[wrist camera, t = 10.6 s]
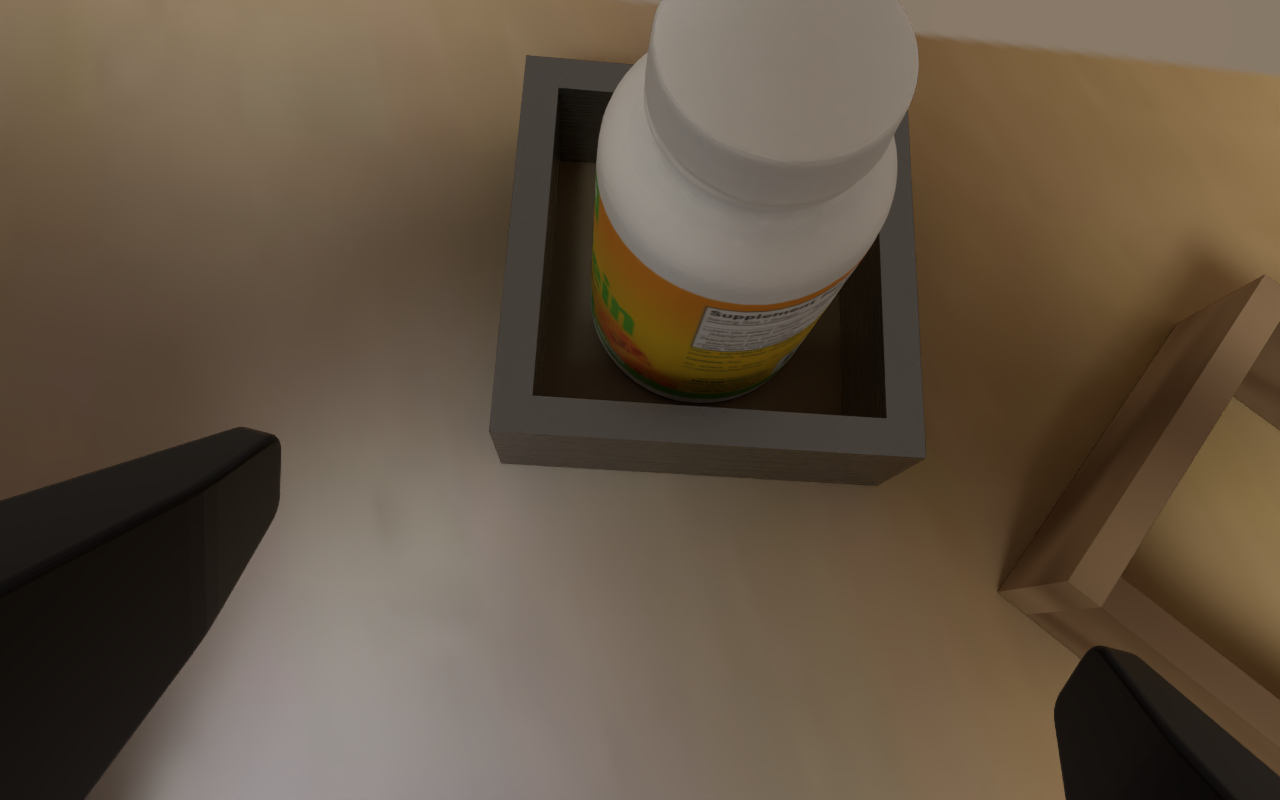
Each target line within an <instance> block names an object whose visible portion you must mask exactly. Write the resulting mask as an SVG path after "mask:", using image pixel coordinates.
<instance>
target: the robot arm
mask: <svg viewBox="0 0 1280 800" xmlns="http://www.w3.org/2000/svg"><path fill="white" fill-rule="evenodd" d="M280 473H281V445H280V441H279V439H278V438H277V437H276V436H275V435H273V434H269V433H266V432H262V431H258V430H254V429H250V428H246V427H237V428H234V429H230V430H227V431H224V432H221V433H217V434H214V435H211V436H208V437H205V438H201V439H198V440H195V441H192V442H189V443H185V444H182V445H179V446H176V447H172V448H169V449H166V450H163V451H160V452H156V453H153V454H150V455H147V456H144V457H140V458H137V459H134V460H131V461H127V462H124V463H121V464H118V465H115V466H111V467H108V468H105V469H102V470H98V471H95V472H92V473H89V474H86V475H82V476H79V477H76V478H73V479H69V480H66V481H63V482H60V483H57V484H53V485H50V486H47V487H44V488H40V489H37V490H34V491H31V492H28V493H24V494H21V495H18V496H15V497H11V498H8V499H5V500H2V501H0V800H85V798H86V797H87V796H88V794H89V793H90V792H91V790H92V789H93V788H94V786H95V785H96V784H97V782H98V781H99V780H100V778H101V777H102V775H103V774H104V773H105V771H106V770H107V769H108V767H109V766H110V765H111V763H112V762H113V761H114V759H115V758H116V757H117V755H118V754H119V752H120V751H121V750H122V748H123V747H124V746H125V744H126V743H127V742H128V740H129V739H130V738H131V736H132V735H133V734H134V732H135V731H136V730H137V728H138V727H139V725H140V724H141V723H142V721H143V720H144V719H145V717H146V716H147V715H148V713H149V712H150V711H151V709H152V708H153V707H154V705H155V704H156V703H157V701H158V700H159V698H160V697H161V696H162V694H163V693H164V692H165V690H166V689H167V688H168V686H169V685H170V684H171V682H172V681H173V680H174V678H175V677H176V676H177V674H178V673H179V671H180V670H181V669H182V667H183V666H184V665H185V663H186V662H187V661H188V659H189V658H190V657H191V655H192V654H193V653H194V651H195V650H196V648H197V647H198V645H199V644H200V643H201V641H202V640H203V638H204V637H205V635H206V634H207V632H208V631H209V629H210V628H211V626H212V624H213V623H214V621H215V619H216V618H217V616H218V614H219V613H220V611H221V609H222V608H223V606H224V604H225V602H226V601H227V599H228V597H229V595H230V594H231V592H232V590H233V588H234V587H235V585H236V583H237V582H238V580H239V578H240V576H241V575H242V573H243V571H244V569H245V568H246V566H247V564H248V562H249V561H250V559H251V557H252V555H253V554H254V552H255V550H256V549H257V547H258V545H259V543H260V542H261V540H262V538H263V536H264V535H265V533H266V531H267V529H268V528H269V526H270V524H271V523H272V521H273V519H274V517H275V514H276V512H277V509H278V505H279V500H280ZM1054 722H1055V729H1056V736H1057V743H1058V750H1059V756H1060V763H1061V770H1062V777H1063V784H1064V791H1065V798H1066V800H1280V776H1279V775H1277V774H1276V773H1275V772H1274V771H1273V770H1272V769H1270V768H1269V767H1268V766H1267V765H1266V764H1264V763H1263V762H1262V761H1261V760H1260V759H1259V758H1257V757H1256V756H1255V755H1254V754H1253V753H1252V752H1250V751H1249V750H1248V749H1247V748H1246V747H1244V746H1243V745H1242V744H1241V743H1240V742H1239V741H1237V740H1236V739H1235V738H1234V737H1233V736H1232V735H1230V734H1229V733H1228V732H1227V731H1226V730H1224V729H1223V728H1222V727H1221V726H1220V725H1219V724H1217V723H1216V722H1215V721H1214V720H1213V719H1211V718H1210V717H1209V716H1208V715H1207V714H1206V713H1204V712H1203V711H1202V710H1201V709H1200V708H1199V707H1197V706H1196V705H1195V704H1194V703H1193V702H1191V701H1190V700H1189V699H1188V698H1187V697H1186V696H1184V695H1183V694H1182V693H1181V692H1180V691H1179V690H1177V689H1176V688H1175V687H1174V686H1173V685H1171V684H1170V683H1169V682H1168V681H1167V680H1166V679H1164V678H1163V677H1162V676H1161V675H1160V674H1158V673H1157V672H1156V671H1155V670H1154V669H1153V668H1151V667H1150V666H1149V665H1148V664H1147V663H1146V662H1144V661H1143V660H1142V659H1141V658H1140V657H1138V656H1137V655H1135V654H1133V653H1130V652H1126V651H1122V650H1118V649H1114V648H1110V647H1106V646H1102V645H1098V646H1094V647H1092V648H1090V649H1089V650H1088V651H1087V652H1086V653H1085V655H1084V656H1083V658H1082V659H1081V661H1080V662H1079V664H1078V665H1077V667H1076V669H1075V670H1074V672H1073V673H1072V675H1071V676H1070V678H1069V679H1068V681H1067V683H1066V684H1065V686H1064V687H1063V689H1062V690H1061V692H1060V693H1059V695H1058V698H1057V700H1056V703H1055V708H1054Z"/></svg>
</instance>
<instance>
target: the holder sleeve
mask: <svg viewBox="0 0 1280 800" xmlns="http://www.w3.org/2000/svg"><path fill="white" fill-rule="evenodd" d="M1233 396H1234V397H1235V398H1237V399H1238V400H1239V401H1241V402H1242V403H1244V404H1245V405H1246V406H1248V407H1249V408H1250V409H1252V410H1253V411H1254V412H1256V413H1257V414H1259V415H1260V416H1261V417H1263V418H1264V419H1265V420H1267V421H1268V422H1269V423H1271V424H1272V425H1274V426H1275V427H1276V428H1278V429H1279V430H1280V284H1278V283H1277V282H1275V281H1274V280H1272V279H1271V278H1270V277H1268V276H1267V275H1263V276H1262V277H1260V278H1258V279H1256V280H1254V281H1253V282H1251V283H1249V284H1247V285H1245V286H1244V287H1242V288H1240V289H1238V290H1236V291H1235V292H1233V293H1231V294H1229V295H1227V296H1226V297H1224V298H1222V299H1220V300H1218V301H1217V302H1215V303H1213V304H1211V305H1209V306H1207V307H1206V308H1204V309H1202V310H1200V311H1198V312H1197V313H1195V314H1193V315H1191V316H1189V317H1188V318H1186V319H1184V320H1182V321H1180V322H1179V323H1177V325H1176V326H1175V328H1174V329H1173V331H1172V332H1171V334H1170V335H1169V337H1168V338H1167V340H1166V341H1165V343H1164V344H1163V346H1162V347H1161V349H1160V350H1159V352H1158V353H1157V354H1156V356H1155V357H1154V359H1153V360H1152V362H1151V363H1150V365H1149V366H1148V368H1147V369H1146V371H1145V372H1144V374H1143V375H1142V377H1141V378H1140V380H1139V381H1138V383H1137V384H1136V386H1135V387H1134V389H1133V390H1132V392H1131V393H1130V395H1129V396H1128V398H1127V399H1126V401H1125V402H1124V404H1123V405H1122V407H1121V408H1120V410H1119V411H1118V413H1117V414H1116V416H1115V417H1114V419H1113V420H1112V422H1111V423H1110V425H1109V426H1108V428H1107V429H1106V431H1105V432H1104V434H1103V435H1102V437H1101V438H1100V440H1099V441H1098V443H1097V444H1096V446H1095V447H1094V449H1093V450H1092V452H1091V453H1090V455H1089V456H1088V458H1087V459H1086V461H1085V462H1084V464H1083V465H1082V467H1081V468H1080V470H1079V471H1078V473H1077V474H1076V476H1075V477H1074V479H1073V480H1072V481H1071V483H1070V484H1069V486H1068V487H1067V489H1066V490H1065V492H1064V493H1063V495H1062V496H1061V498H1060V499H1059V501H1058V502H1057V504H1056V505H1055V507H1054V508H1053V510H1052V511H1051V513H1050V514H1049V516H1048V517H1047V519H1046V520H1045V522H1044V523H1043V525H1042V526H1041V528H1040V529H1039V531H1038V532H1037V534H1036V535H1035V537H1034V538H1033V540H1032V541H1031V543H1030V544H1029V546H1028V547H1027V549H1026V550H1025V552H1024V553H1023V555H1022V556H1021V558H1020V559H1019V561H1018V562H1017V564H1016V565H1015V567H1014V568H1013V570H1012V571H1011V573H1010V574H1009V576H1008V577H1007V579H1006V580H1005V582H1004V583H1003V585H1002V586H1001V588H1000V589H999V591H998V593H999V594H1001V595H1002V596H1003V597H1004V598H1006V599H1007V600H1008V601H1009V602H1011V603H1012V604H1013V605H1014V606H1016V607H1017V608H1018V609H1019V610H1021V611H1022V612H1023V613H1024V614H1026V615H1027V616H1028V617H1029V618H1031V619H1032V620H1033V621H1034V622H1036V623H1037V624H1038V625H1039V626H1041V627H1042V628H1043V629H1044V630H1046V631H1047V632H1048V633H1049V634H1051V635H1052V636H1053V637H1054V638H1056V639H1057V640H1058V641H1059V642H1061V643H1062V644H1063V645H1064V646H1066V647H1067V648H1068V649H1069V650H1071V651H1072V652H1073V653H1074V654H1076V655H1077V656H1078V657H1080V658H1081V659H1082V658H1083V656H1084V655H1085V653H1086V652H1087V651H1088V650H1089V649H1090V648H1092V647H1094V646H1098V645H1102V646H1106V647H1110V648H1114V649H1118V650H1122V651H1126V652H1130V653H1133V654H1135V655H1137V656H1138V657H1140V658H1141V659H1142V660H1143V661H1144V662H1146V663H1147V664H1148V665H1149V666H1150V667H1151V668H1153V669H1154V670H1155V671H1156V672H1157V673H1158V674H1160V675H1161V676H1162V677H1163V678H1164V679H1166V680H1167V681H1168V682H1169V683H1170V684H1171V685H1173V686H1174V687H1175V688H1176V689H1177V690H1179V691H1180V692H1181V693H1182V694H1183V695H1184V696H1186V697H1187V698H1188V699H1189V700H1190V701H1191V702H1193V703H1194V704H1195V705H1196V706H1197V707H1199V708H1200V709H1201V710H1202V711H1203V712H1204V713H1206V714H1207V715H1208V716H1209V717H1210V718H1211V719H1213V720H1214V721H1215V722H1216V723H1217V724H1219V725H1220V726H1221V727H1222V728H1223V729H1224V730H1226V731H1227V732H1228V733H1229V734H1230V735H1232V736H1233V737H1234V738H1235V739H1236V740H1237V741H1239V742H1240V743H1241V744H1242V745H1243V746H1244V747H1246V748H1247V749H1248V750H1249V751H1250V752H1252V753H1253V754H1254V755H1255V756H1256V757H1257V758H1259V759H1260V760H1261V761H1262V762H1263V763H1264V764H1266V765H1267V766H1268V767H1269V768H1270V769H1272V770H1273V771H1274V772H1275V773H1276V774H1277V775H1279V776H1280V700H1279V699H1278V698H1277V697H1275V696H1274V695H1273V694H1271V693H1270V692H1269V691H1268V690H1266V689H1265V688H1264V687H1262V686H1261V685H1260V684H1259V683H1257V682H1256V681H1255V680H1253V679H1252V678H1251V677H1250V676H1248V675H1247V674H1246V673H1244V672H1243V671H1242V670H1241V669H1239V668H1238V667H1237V666H1235V665H1234V664H1233V663H1232V662H1230V661H1229V660H1228V659H1226V658H1225V657H1224V656H1223V655H1221V654H1220V653H1219V652H1217V651H1216V650H1215V649H1214V648H1212V647H1211V646H1210V645H1208V644H1207V643H1206V642H1204V641H1203V640H1202V639H1201V638H1199V637H1198V636H1197V635H1195V634H1194V633H1193V632H1192V631H1190V630H1189V629H1188V628H1186V627H1185V626H1184V625H1183V624H1181V623H1180V622H1179V621H1177V620H1176V619H1175V618H1174V617H1172V616H1171V615H1170V614H1168V613H1167V612H1166V611H1165V610H1163V609H1162V608H1161V607H1159V606H1158V605H1157V604H1156V603H1154V602H1153V601H1152V600H1150V599H1149V598H1148V597H1147V596H1145V595H1144V594H1143V593H1141V592H1140V591H1139V590H1138V589H1136V588H1135V587H1134V586H1132V585H1131V584H1130V583H1129V582H1127V581H1126V580H1125V579H1123V578H1122V577H1121V574H1122V573H1123V571H1124V570H1125V568H1126V566H1127V565H1128V563H1129V562H1130V560H1131V558H1132V557H1133V555H1134V554H1135V552H1136V550H1137V549H1138V547H1139V546H1140V544H1141V542H1142V541H1143V539H1144V538H1145V536H1146V534H1147V533H1148V531H1149V530H1150V528H1151V526H1152V525H1153V523H1154V522H1155V520H1156V518H1157V517H1158V515H1159V514H1160V512H1161V510H1162V509H1163V507H1164V506H1165V504H1166V502H1167V501H1168V499H1169V498H1170V496H1171V494H1172V493H1173V491H1174V490H1175V488H1176V486H1177V485H1178V483H1179V482H1180V480H1181V478H1182V477H1183V475H1184V474H1185V472H1186V470H1187V469H1188V467H1189V466H1190V464H1191V462H1192V461H1193V459H1194V458H1195V456H1196V454H1197V453H1198V451H1199V450H1200V448H1201V446H1202V445H1203V443H1204V442H1205V440H1206V438H1207V437H1208V435H1209V434H1210V432H1211V430H1212V429H1213V427H1214V426H1215V424H1216V422H1217V421H1218V419H1219V418H1220V416H1221V414H1222V413H1223V411H1224V410H1225V408H1226V406H1227V405H1228V403H1229V402H1230V400H1231V398H1232V397H1233Z"/></svg>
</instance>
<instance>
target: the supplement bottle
mask: <svg viewBox="0 0 1280 800" xmlns="http://www.w3.org/2000/svg"><path fill="white" fill-rule="evenodd" d="M918 69H919V60H918V47H917V42H916V37H915V33H914V30H913V28H912V25H911V23H910V20H909V18H908V16H907V13H906V11H905V10H904V8H903V7H902V5H901V3H900V2H899V0H661V1H660V3H659V6H658V8H657V11H656V13H655V17H654V20H653V25H652V31H651V37H650V43H649V49H648V52H647V53H646V54H645V55H643V56H642V57H641V58H640V59H639V60H638V61H637V62H636V63H635V64H634V65H633V66H632V67H631V68H630V70H629V71H628V72H627V73H626V74H625V76H624V77H623V78H622V80H621V81H620V83H619V84H618V86H617V88H616V89H615V91H614V93H613V95H612V97H611V99H610V101H609V103H608V105H607V108H606V110H605V113H604V116H603V119H602V124H601V129H600V134H599V139H598V149H597V159H596V181H595V204H594V229H593V247H592V266H591V281H590V297H591V311H592V317H593V321H594V325H595V329H596V331H597V334H598V337H599V339H600V341H601V343H602V345H603V346H604V348H605V350H606V352H607V353H608V355H609V356H610V357H611V359H612V360H613V361H614V362H615V364H616V365H617V366H618V367H619V368H620V369H621V370H622V371H623V372H624V373H625V374H626V375H627V376H628V377H630V378H631V379H632V380H633V381H635V382H636V383H638V384H639V385H641V386H642V387H644V388H646V389H648V390H649V391H651V392H654V393H656V394H658V395H661V396H664V397H667V398H670V399H674V400H678V401H683V402H693V403H712V402H720V401H725V400H730V399H734V398H737V397H740V396H742V395H745V394H747V393H749V392H751V391H753V390H755V389H756V388H758V387H760V386H761V385H763V384H764V383H766V382H767V381H768V380H770V379H771V378H772V377H773V376H774V375H775V374H777V373H778V372H779V371H780V369H781V368H782V367H783V366H784V365H785V364H786V363H787V362H788V361H789V360H790V358H791V357H792V356H793V354H794V353H795V352H796V350H797V349H798V348H799V346H800V345H801V343H802V342H803V340H804V339H805V338H806V336H807V335H808V333H809V332H810V331H811V329H812V328H813V327H814V325H815V324H816V322H817V321H818V320H819V318H820V317H821V315H822V314H823V312H824V311H825V310H826V309H827V307H828V306H829V305H830V303H831V302H832V300H833V299H834V298H835V296H836V295H837V293H838V291H839V290H840V289H841V287H842V286H843V285H844V283H845V282H846V280H847V279H848V278H849V277H850V275H851V274H852V272H853V271H854V270H855V268H856V267H857V266H858V264H859V263H860V261H861V260H862V259H863V257H864V256H865V255H866V253H867V252H868V250H869V249H870V247H871V246H872V244H873V243H874V241H875V239H876V237H877V235H878V233H879V232H880V230H881V228H882V226H883V224H884V222H885V220H886V218H887V216H888V213H889V210H890V207H891V204H892V201H893V198H894V193H895V188H896V181H897V150H896V143H895V139H894V134H895V132H896V130H897V128H898V126H899V124H900V123H901V121H902V119H903V117H904V115H905V113H906V112H907V110H908V108H909V106H910V103H911V101H912V98H913V95H914V93H915V88H916V84H917V78H918Z"/></svg>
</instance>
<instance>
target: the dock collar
mask: <svg viewBox="0 0 1280 800" xmlns="http://www.w3.org/2000/svg"><path fill="white" fill-rule="evenodd" d="M632 66H633V65H632V64H620V63H609V62H597V61H586V60H575V59H563V58H552V57H540V56H529V55H526V64H525V74H524V84H523V94H522V104H521V114H520V124H519V134H518V144H517V154H516V165H515V175H514V185H513V195H512V205H511V215H510V225H509V235H508V245H507V255H506V265H505V276H504V286H503V296H502V306H501V316H500V326H499V336H498V346H497V356H496V366H495V376H494V387H493V397H492V407H491V417H490V427H489V432H490V435H491V437H492V440H493V443H494V446H495V448H496V451H497V454H498V456H499V459H500V462H501V463H506V464H523V465H539V466H556V467H573V468H589V469H606V470H623V471H640V472H656V473H673V474H690V475H706V476H723V477H740V478H756V479H773V480H790V481H806V482H823V483H840V484H856V485H873V486H878V485H879V484H881V483H883V482H885V481H886V480H888V479H890V478H892V477H894V476H895V475H897V474H899V473H901V472H902V471H904V470H906V469H908V468H909V467H911V466H913V465H915V464H916V463H918V462H920V461H922V460H924V459H925V458H926V448H925V429H924V410H923V391H922V372H921V353H920V334H919V315H918V296H917V277H916V258H915V239H914V220H913V201H912V182H911V163H910V144H909V125H908V110H907V112H906V113H905V115H904V117H903V119H902V121H901V123H900V124H899V126H898V128H897V130H896V132H895V134H894V139H895V143H896V150H897V181H896V188H895V193H894V198H893V201H892V204H891V207H890V210H889V213H888V216H887V218H886V220H885V222H884V224H883V226H882V228H881V230H880V232H879V233H878V235H877V237H876V239H875V241H874V243H873V244H872V246H871V247H870V249H869V250H868V252H867V253H866V255H865V256H864V257H863V259H862V260H861V261H860V263H859V264H858V266H857V267H856V268H855V270H854V271H853V272H852V274H851V275H850V277H849V278H848V279H847V280H846V282H845V283H844V285H843V286H842V287H841V289H840V318H841V359H842V401H843V416H840V415H825V414H809V413H794V412H778V411H763V410H747V409H732V408H717V407H701V406H686V405H670V404H655V403H639V402H624V401H608V400H593V399H577V398H562V397H546V396H541V388H542V376H543V364H544V352H545V340H546V328H547V315H548V303H549V291H550V279H551V267H552V254H553V242H554V230H555V218H556V206H557V194H558V181H559V169H560V160H568V161H580V162H593V163H596V159H597V149H598V139H599V134H600V129H601V124H602V119H603V116H604V113H605V110H606V108H607V105H608V103H609V101H610V99H611V97H612V95H613V93H614V91H615V89H616V88H617V86H618V84H619V83H620V81H621V80H622V78H623V77H624V76H625V74H626V73H627V72H628V71H629V70H630V68H631V67H632Z"/></svg>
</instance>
